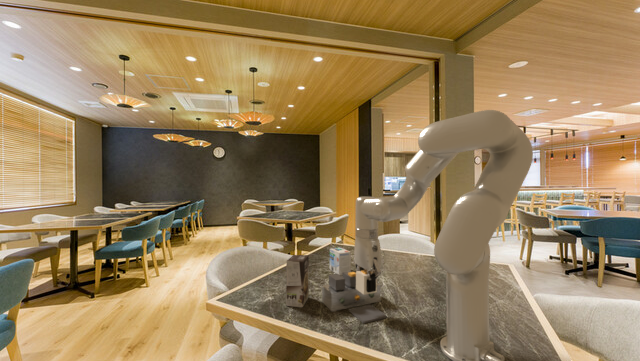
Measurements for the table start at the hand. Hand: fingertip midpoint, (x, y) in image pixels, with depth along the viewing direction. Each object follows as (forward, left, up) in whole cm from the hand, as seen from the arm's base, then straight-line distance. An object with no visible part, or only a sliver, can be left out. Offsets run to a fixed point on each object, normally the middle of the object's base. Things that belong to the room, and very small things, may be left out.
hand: (366, 287), depth 89 cm
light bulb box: (+42, -12, -9) cm, 45 cm away
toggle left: (+10, +6, -2) cm, 12 cm away
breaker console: (+10, 0, -9) cm, 13 cm away
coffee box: (+18, +18, -9) cm, 27 cm away
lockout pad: (0, 0, -9) cm, 9 cm away
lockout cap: (0, 0, -1) cm, 1 cm away
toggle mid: (+11, 0, -2) cm, 11 cm away
